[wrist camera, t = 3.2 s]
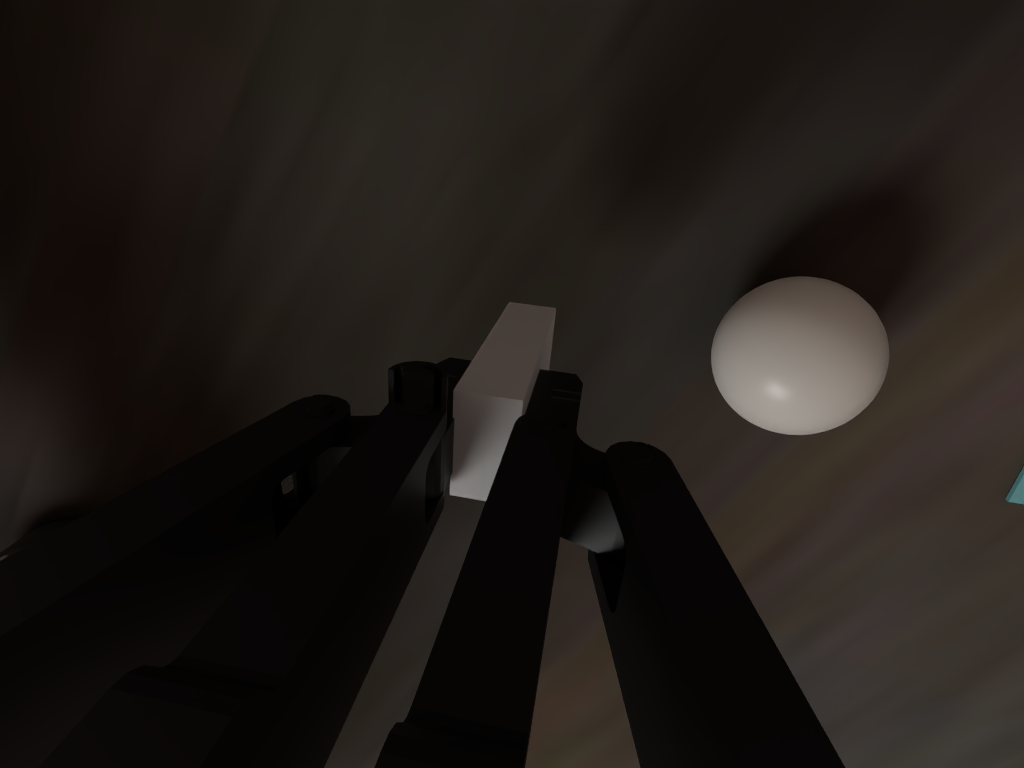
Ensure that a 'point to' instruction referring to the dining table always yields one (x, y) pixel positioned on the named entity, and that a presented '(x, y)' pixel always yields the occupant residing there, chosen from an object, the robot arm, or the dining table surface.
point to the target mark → (1017, 490)
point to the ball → (800, 355)
